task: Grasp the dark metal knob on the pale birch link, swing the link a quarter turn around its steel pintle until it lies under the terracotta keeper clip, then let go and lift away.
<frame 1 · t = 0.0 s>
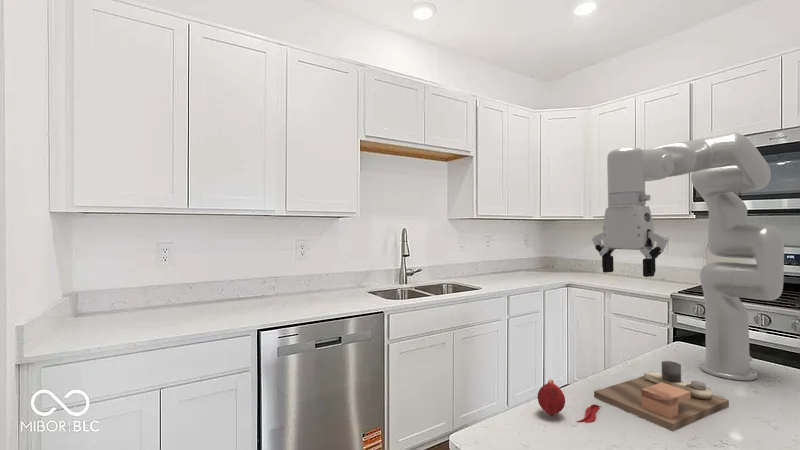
hand: (627, 274, 90), 31 cm above the countertop, tool pointing down, fingers open, 9 cm apart
onion: (551, 416, 86), on the countertop
cayenne pepper: (590, 417, 86), on the countertop
board: (659, 401, 92), on the countertop
link: (676, 376, 96), point 5 cm above the countertop, hinge at 0.0°
keeper: (659, 417, 84), resting on board
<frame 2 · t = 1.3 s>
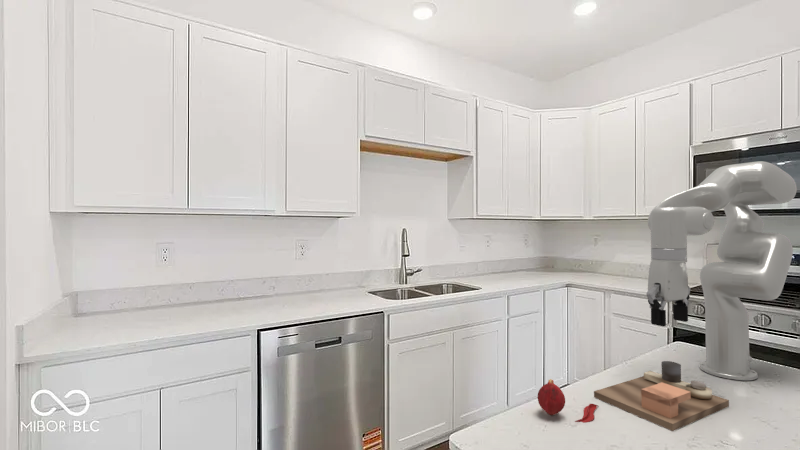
hand: (669, 322, 97), 18 cm above the countertop, tool pointing down, fingers open, 9 cm apart
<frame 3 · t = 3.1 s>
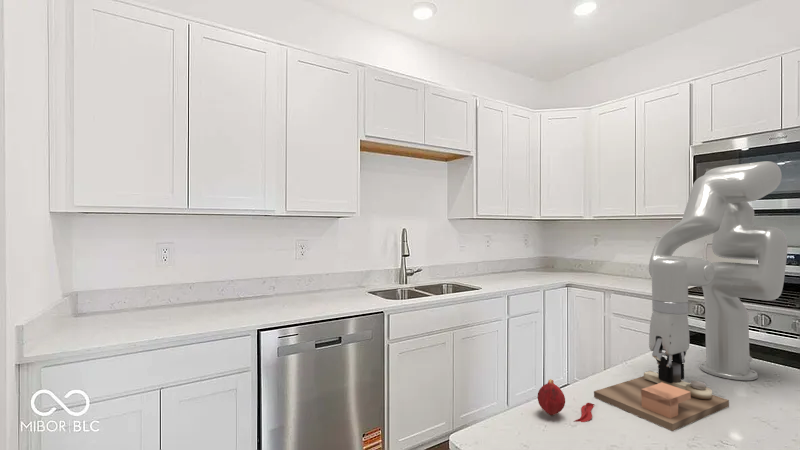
hand: (671, 378, 97), 4 cm above the countertop, tool pointing down, fingers closed on link, 4 cm apart
link: (676, 376, 96), point 5 cm above the countertop, hinge at 0.0°, touching gripper
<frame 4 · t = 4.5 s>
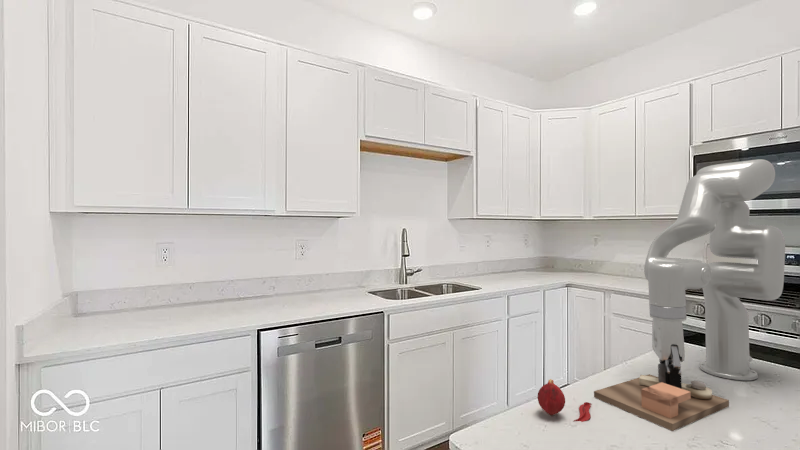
hand: (670, 383, 95), 3 cm above the countertop, tool pointing down, fingers open, 4 cm apart
link: (674, 378, 95), point 5 cm above the countertop, hinge at 23.7°, touching gripper
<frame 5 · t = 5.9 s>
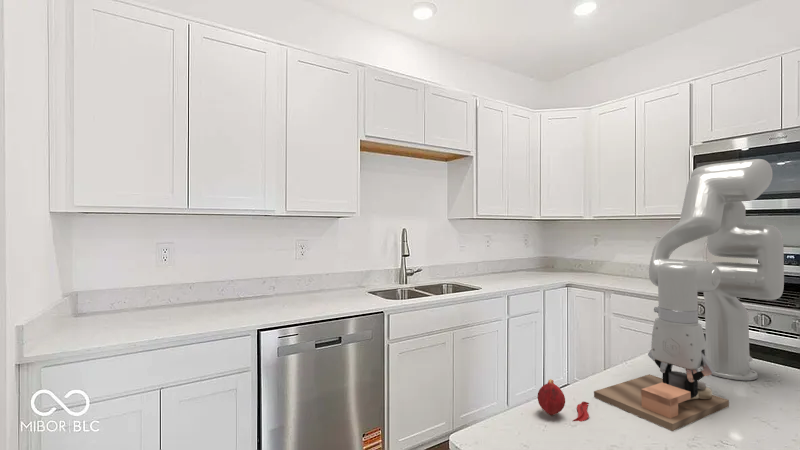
hand: (679, 392, 90), 3 cm above the countertop, tool pointing down, fingers open, 4 cm apart
link: (683, 385, 90), point 5 cm above the countertop, hinge at 78.7°, touching gripper
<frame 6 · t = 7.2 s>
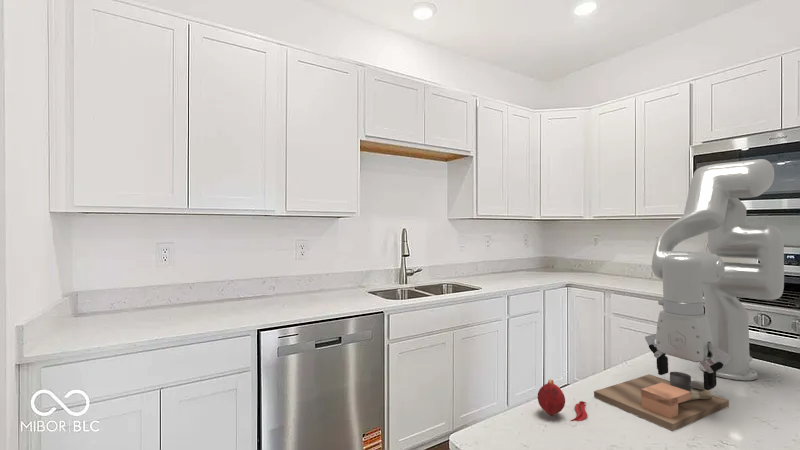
hand: (685, 380, 89), 6 cm above the countertop, tool pointing down, fingers open, 9 cm apart
link: (684, 385, 90), point 5 cm above the countertop, hinge at 81.6°
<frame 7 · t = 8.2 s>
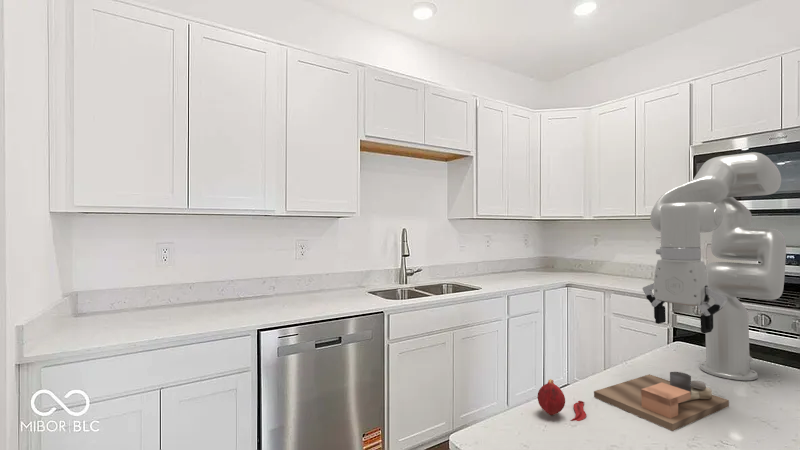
hand: (682, 327, 90), 18 cm above the countertop, tool pointing down, fingers open, 9 cm apart
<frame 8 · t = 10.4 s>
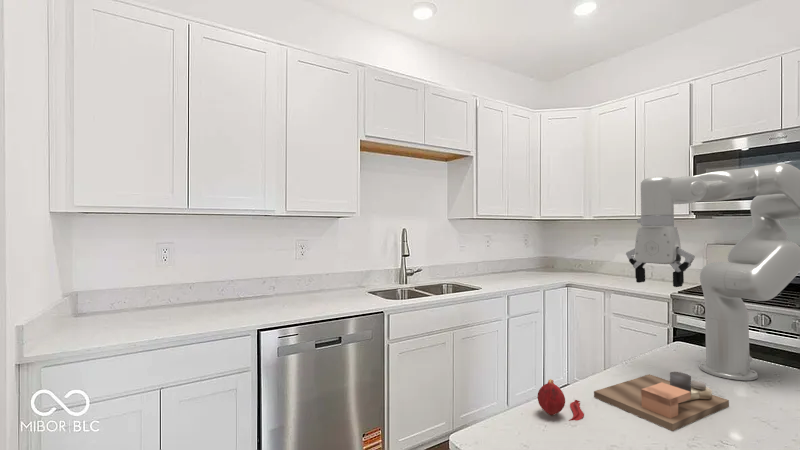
hand: (658, 284, 105), 26 cm above the countertop, tool pointing down, fingers open, 9 cm apart
at the end: link at +82° (first picture: +0°); the gripper is holding nothing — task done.
